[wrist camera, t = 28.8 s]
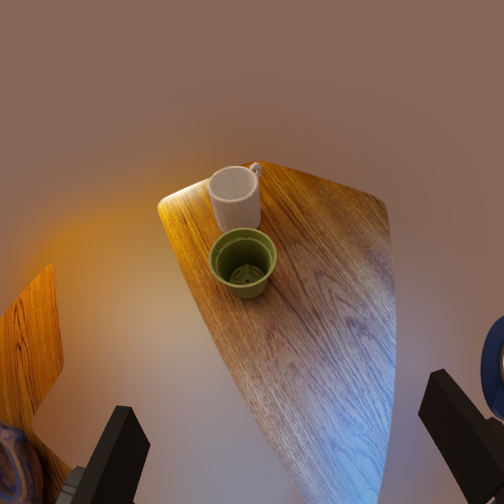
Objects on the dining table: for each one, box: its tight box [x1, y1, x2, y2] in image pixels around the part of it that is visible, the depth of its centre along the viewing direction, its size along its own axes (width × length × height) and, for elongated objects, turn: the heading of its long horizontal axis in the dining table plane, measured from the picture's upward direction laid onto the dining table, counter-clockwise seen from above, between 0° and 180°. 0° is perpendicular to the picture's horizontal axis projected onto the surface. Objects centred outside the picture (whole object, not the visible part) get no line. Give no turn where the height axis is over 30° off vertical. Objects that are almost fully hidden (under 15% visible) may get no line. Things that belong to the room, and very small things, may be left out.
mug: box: [208, 163, 262, 233], centre depth 51 cm, size 8×12×10 cm
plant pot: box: [209, 228, 277, 299], centre depth 44 cm, size 9×9×9 cm
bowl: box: [0, 421, 43, 504], centre depth 26 cm, size 18×18×10 cm
